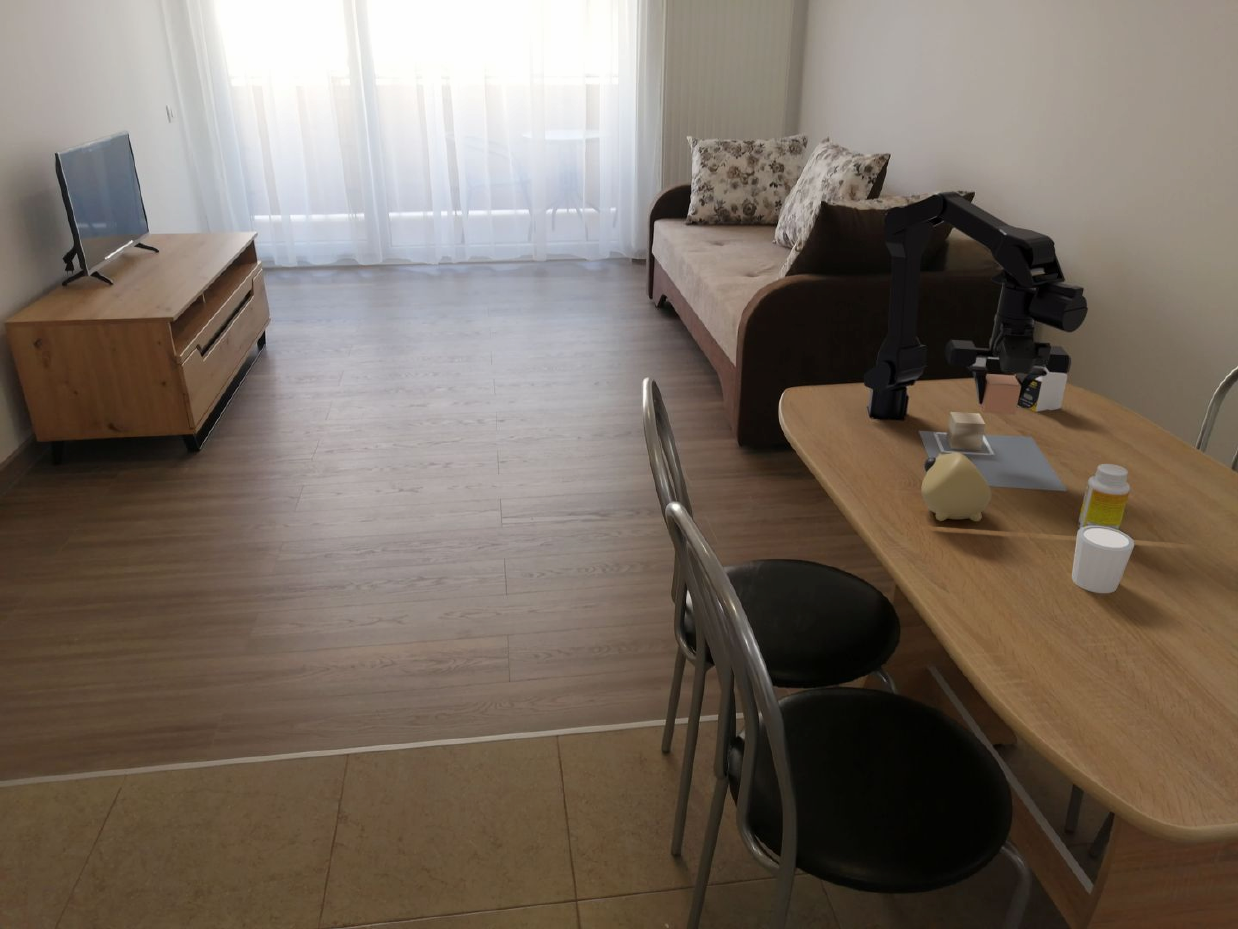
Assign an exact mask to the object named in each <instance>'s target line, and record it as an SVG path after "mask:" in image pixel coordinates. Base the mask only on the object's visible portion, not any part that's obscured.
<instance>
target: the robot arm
mask: <svg viewBox="0 0 1238 929" xmlns="http://www.w3.org/2000/svg"><path fill="white" fill-rule="evenodd" d="M882 222H883V224H882V226H883V236H884V243H885V246H886V248H887V249H888V250H889V253H890V255H891V274H890V289H889V290H890V291H889V292H890V295H889V310H888V330H887V336H886V338H885V339H884V341H883V343H882V345H881V346H880V348H879V351H878V353H877V359H876V365H875V366H873V367H872V368H871V369H869V370H868V371H866V373H864V374H863V375H862V377H863V383H864V384H863V385H864V386H865V387H866V388H869V389H870V392H869V399H868V400H869V401H868V405H867V406H866V410H867V413H868V418H869V419H871V420H884V421H886V420H887V421H888V420H889V421H901V422H902V421H905V417H906V416H907V415H908V414H907V412H908V405H909V400H910V395H909V393H908V388H907V387H909V386H915V383H916V382H917V380H918V379H919V377H920V376H922V375H923V373H924V370H925V368H926V367H927V366H928V365H927V364H928V363H927V353H928V346H927V345H926V344H921V342H920V340H919V338H918V337H917V325H918V324H917V322H918V309H919V295H920V294H919V291H920V281H921V279H920V277H921V276H920V275H921V263H922V262H921V261H922V256H923V254H924V252H925V251H926V249H927V247H928V246H929V243H930V242H931V240H932V235H933V229H934V227H936V226H938V225H940V224H941V223H946V224H948V225H949V226H951V227H952V228H955V229H956V230H957V231H959V232H961V233H962V234H964V235H965V236H967V237H969V238H970V239H972V240H973V241H975V242H977V243H978V244H980V245H982V246H983V247H985V248H986V249H987V250H988V251H989V252H990V253H991V255H992V257H993V258H992V259H993V260H994V261H995V262H996V264H998V266H1000V267H1001V268H1002V270H1001V271H1000V272H999V273H997V274H995V275H993V276H991V278H990V279H991V281H992V282H994V283H997V284H1001V286H1002V287H1001V290H1000V296H999V299H998V306H997V309H996V310H997V311H996V314H994V319H993V322H994V325H993V329H992V334H991V338H989V344H988V345H989V348H985V347H984V348H983V347H976V346H975V344H974V342H973V341H972V340H961V339H960V340H959V339H950V340H949V341H948V342H947V343H946V344H945V349H944V356H945V358H946V360H947V363H948V365H950V366H953V367H964V368H967V370H968V371H969V372H972V376H973V379H974V385H975V391H976V396H977V403H978V402H979V403H978V404H982V402H983V398H984V390H985V380H986V375H987V374H989V373H988V372H989V369H988V368H987V366H986V363H987V361H991V362H992V361H993V362H994V361H995V362H999V364H1000V365H999V368H1000V370H1001V371H1002V372H1003V373H1006V374H1013V372H1015V373H1018V374H1017V378H1016V379H1017V381H1018V382H1019V384H1020V385H1021V390H1020V394H1019V399H1018V401H1019V400H1020V398H1021V397H1022V395H1023V394H1024V392H1025V391H1026V389H1027V388H1028V386H1029V385H1030V384H1031V383H1032V382H1033V381H1034V380H1035V379H1036V378H1038V377H1040V376H1046V375H1047V372H1046V371H1045V367H1046V368H1047V369H1048V371H1049V372H1055V373H1063V374H1068V373H1069V372H1070V370H1071V365H1072V357H1071V356H1070V355H1069V354H1068V352H1067V351H1066V350H1065V349H1064V348H1063V347H1062V346H1061V345H1060V346H1057V345H1051V343H1050V342H1039V341H1035V339H1034V333H1035V326H1034V322H1036V323H1038V324H1040V325H1041V324H1042V325H1044V326H1047V327H1050V328H1053V329H1055V330H1060V331H1062V332H1065V333H1073V332H1075V331H1076V330H1078V329H1079V328H1080V327H1081V325H1083V323H1084V321H1085V319H1086V317H1087V314H1088V311H1089V307H1088V302H1087V299H1086V297H1085V296H1083V294H1084V291H1085V288H1084V287H1081V286H1078V285H1070V284H1067V283H1065V281H1066V278H1065V275H1064V273H1063V270H1062V267H1061V265H1060V262H1059V259H1058V257H1057V253H1056V247H1055V242H1054V240H1053V239H1052V238H1051V237H1050V236H1049V235H1046V234H1044V233H1041V232H1037V231H1035V230H1032V229H1027V228H1023V227H1021V228H1020V227H1016V226H1013V225H1010V224H1008V223H1007V222H1005V221H1003V220H1001V219H999V218H998V217H996V216H995V215H993V214H991V213H989V212H988V211H986V210H984V209H983V208H981V207H979V206H978V205H976V204H974V203H972V202H971V201H969V200H967V199H965V198H964V197H963V196H962V195H961V194H960V193H958V192H956V191H953V190H952V191H944V192H943V191H942V192H935V193H934V194H932V195H930V196H929V197H926V198H925V199H921V200H919V201H917V202H916V201H915V202H913V203H910V204H908V205H907V204H906V205H901V206H894V207H891V209H889V210H888V212H887V213H885V215H884V217H883V221H882ZM1039 272H1043V273H1039ZM1034 273H1035V274H1034ZM1036 273H1039V274H1036ZM1032 274H1034V275H1032Z"/></svg>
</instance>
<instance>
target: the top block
mask: <svg viewBox="0 0 1238 929" xmlns="http://www.w3.org/2000/svg"><path fill="white" fill-rule="evenodd" d="M1020 390H1021V385H1020V384H1019V382H1018V381H1017V379H1016V378H1015V376H1013V375H1008V374H996V373H995V374H994V373H993V374H991V373H987V375H986V380H985V390H984V398H983V402H982V404H979V402H978V401H977V403H978V404H979V406H980V408H981V410H982V412H983V413H989V414H1001V415H1014V416H1015V415H1016V411H1017V408H1018V407H1017V403H1018V399H1019V394H1020Z"/></svg>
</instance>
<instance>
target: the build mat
mask: <svg viewBox="0 0 1238 929" xmlns="http://www.w3.org/2000/svg"><path fill="white" fill-rule="evenodd" d="M918 434H919V437H920V439H921V441H922V443H923V444H922V445H923V447H924V448H925V451H926V454H927V457H928V459H929V458H932V457H935V458H937V457H938V454H942V455H944V454H951V453H955V452H958V453H961V454H963V455H964V456H966V457H967V458H969V459H970V460H971V461H972V463H973V464H974V465H975V466H976V468H977V469H978V470H979V471H980V473H981V474H982V476H983V477H984V478H985V480H986V481H987V483H988V485H989V487H990V488H991V487H992V488H996V487H997V488H1009V489H1023V490H1024V489H1025V490H1039V491H1040V490H1041V491H1055V492H1056V491H1058V492H1068V490H1067V489H1066V487H1065V485H1064V484H1063V483H1062V481H1061V479H1060V478H1059V476H1058V475H1057V473H1056V471H1054V468H1053V467H1052V465H1051V464H1050V463H1049V461H1048V459H1047V458H1046V457H1045V455H1044V454H1043V451H1041V449H1040V448H1039V446H1038V444H1037V443H1036V441H1035V440H1034V439H1033V437H1032V436H1021V435H1019V436H1018V435H1017V436H1016V435H1003V434H1002V435H1000V434H986V433H984V434H983V440H982V445H981V450H965V449H951V447H950V445H949V443H948V441H947V438H946V435H947V431H946V432H945V431H929V430H918Z"/></svg>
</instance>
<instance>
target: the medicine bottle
mask: <svg viewBox="0 0 1238 929" xmlns="http://www.w3.org/2000/svg"><path fill="white" fill-rule="evenodd" d="M1045 371H1046V372H1047V375H1046V376H1040V377H1038V378H1036V379H1035V380H1034V381H1033V382H1032V383H1031V384H1030V385H1029V386H1028V388H1027V389H1026V391H1025V392H1024V394H1023V395H1022V397H1021V398H1020V400H1019V401H1018V403H1017V407H1016V408H1020V409H1022V408H1023V409H1028V410H1030V411H1032V412H1035V413H1036V412H1042V411H1047V410H1049V411H1050V412H1051V411H1055V410H1059V409H1061V408H1062V403H1063V398H1064V394H1065V389H1066V385H1067V381H1068V375H1067V373H1055V372H1049V371H1048V369H1047V368H1046V367H1045ZM1017 374H1018V373H1015V372H1012V376H1015V378H1017Z"/></svg>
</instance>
